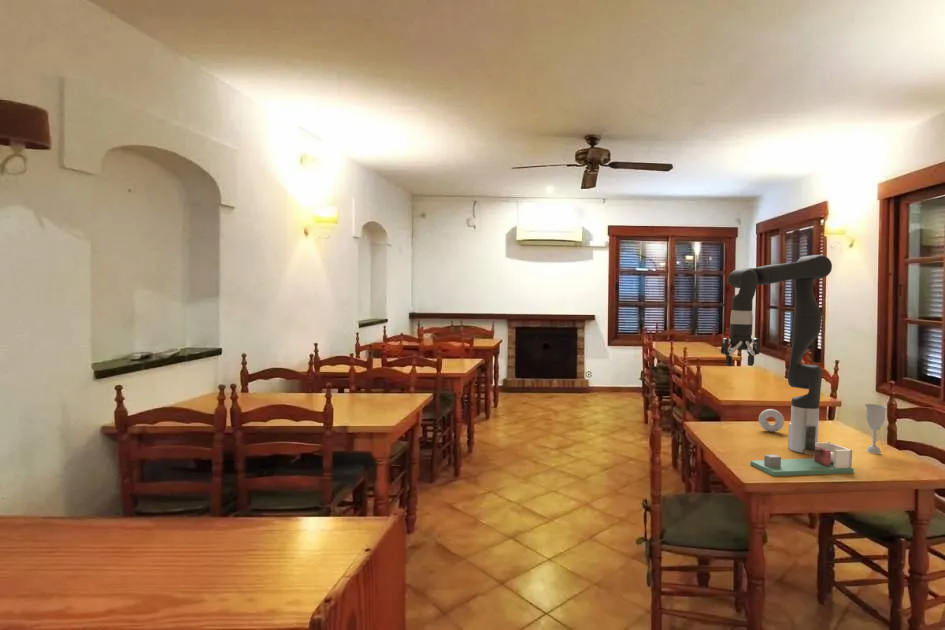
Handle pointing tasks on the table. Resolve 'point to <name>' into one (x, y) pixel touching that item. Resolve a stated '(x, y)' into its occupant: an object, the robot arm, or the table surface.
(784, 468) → the playfield
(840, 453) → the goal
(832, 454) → the ball
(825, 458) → the slider rod
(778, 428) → the donut
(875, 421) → the chalice
